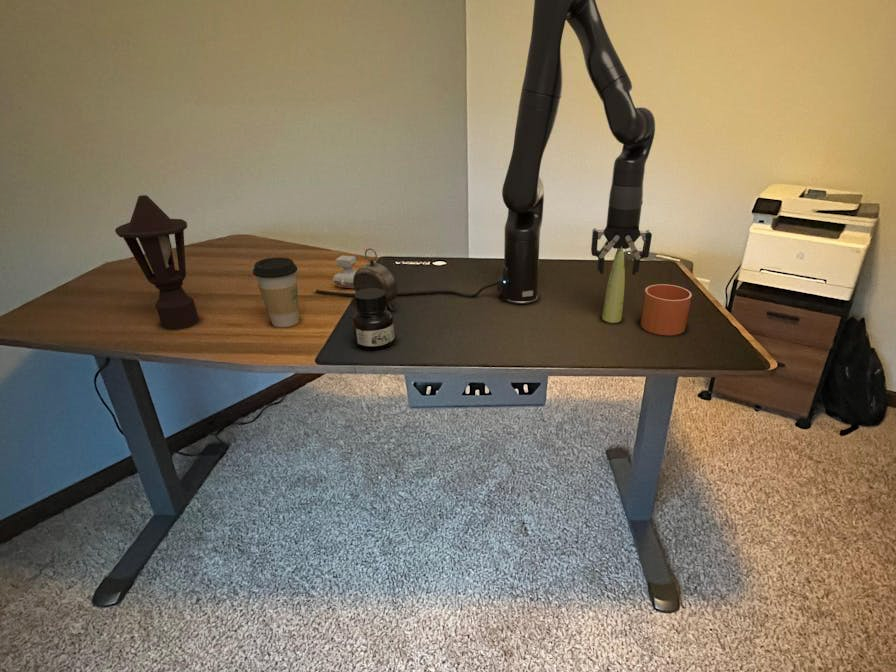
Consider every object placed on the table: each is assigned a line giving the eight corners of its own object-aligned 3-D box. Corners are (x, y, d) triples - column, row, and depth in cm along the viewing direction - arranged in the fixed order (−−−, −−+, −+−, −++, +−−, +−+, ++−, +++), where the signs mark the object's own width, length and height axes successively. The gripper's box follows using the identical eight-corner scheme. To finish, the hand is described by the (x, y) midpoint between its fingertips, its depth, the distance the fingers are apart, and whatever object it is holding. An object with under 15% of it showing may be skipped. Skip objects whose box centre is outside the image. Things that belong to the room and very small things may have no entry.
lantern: (181, 339, 130) (141, 206, 115) (130, 330, 134) (85, 200, 119) (227, 315, 143) (196, 192, 128) (179, 307, 146) (143, 187, 131)
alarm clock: (399, 309, 148) (394, 248, 140) (387, 317, 143) (381, 254, 135) (365, 302, 152) (358, 242, 143) (352, 309, 147) (344, 248, 139)
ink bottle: (357, 354, 126) (350, 303, 120) (350, 338, 133) (343, 289, 127) (400, 347, 129) (396, 297, 123) (391, 331, 136) (387, 284, 130)
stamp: (353, 292, 157) (349, 263, 153) (331, 290, 159) (327, 261, 154) (368, 282, 165) (364, 253, 161) (347, 279, 166) (343, 251, 162)
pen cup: (643, 334, 137) (648, 299, 133) (637, 316, 147) (642, 283, 142) (689, 336, 137) (696, 301, 132) (680, 318, 146) (686, 285, 142)
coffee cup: (314, 317, 143) (304, 259, 135) (289, 332, 134) (277, 272, 127) (282, 311, 145) (270, 254, 138) (255, 326, 137) (241, 266, 130)
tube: (627, 321, 144) (637, 246, 134) (612, 326, 141) (621, 249, 132) (612, 314, 148) (621, 240, 138) (597, 318, 145) (605, 243, 136)
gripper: (654, 201, 133) (644, 269, 141) (592, 199, 134) (587, 267, 142) (659, 209, 127) (649, 279, 135) (594, 207, 127) (588, 277, 136)
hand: (617, 273), depth 138 cm, fingers open, 7 cm apart
